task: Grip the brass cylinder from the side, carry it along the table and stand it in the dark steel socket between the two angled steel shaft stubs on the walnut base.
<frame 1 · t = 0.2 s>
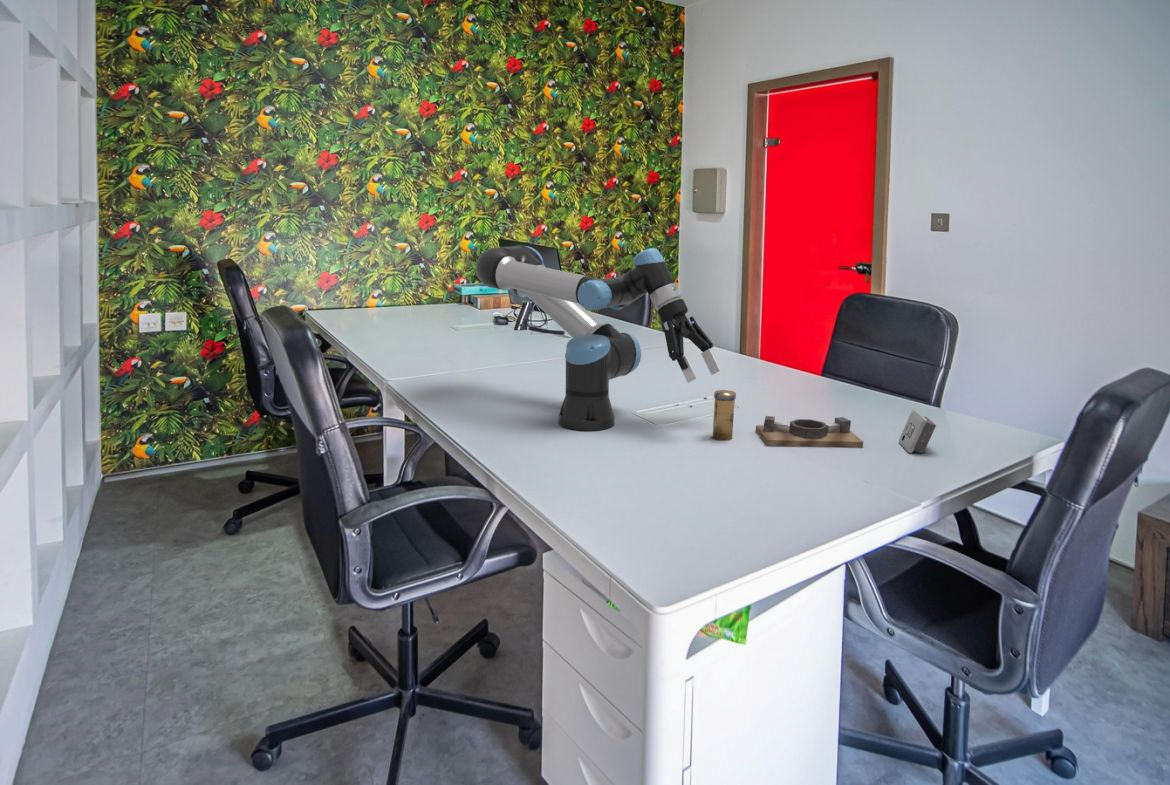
hand: (704, 376, 201), 15 cm above the table, tool tilted 35°, fingers open, 13 cm apart
brass cylinder: (722, 437, 200), on the table
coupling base: (807, 438, 200), on the table
electrical switch: (913, 449, 193), on the table
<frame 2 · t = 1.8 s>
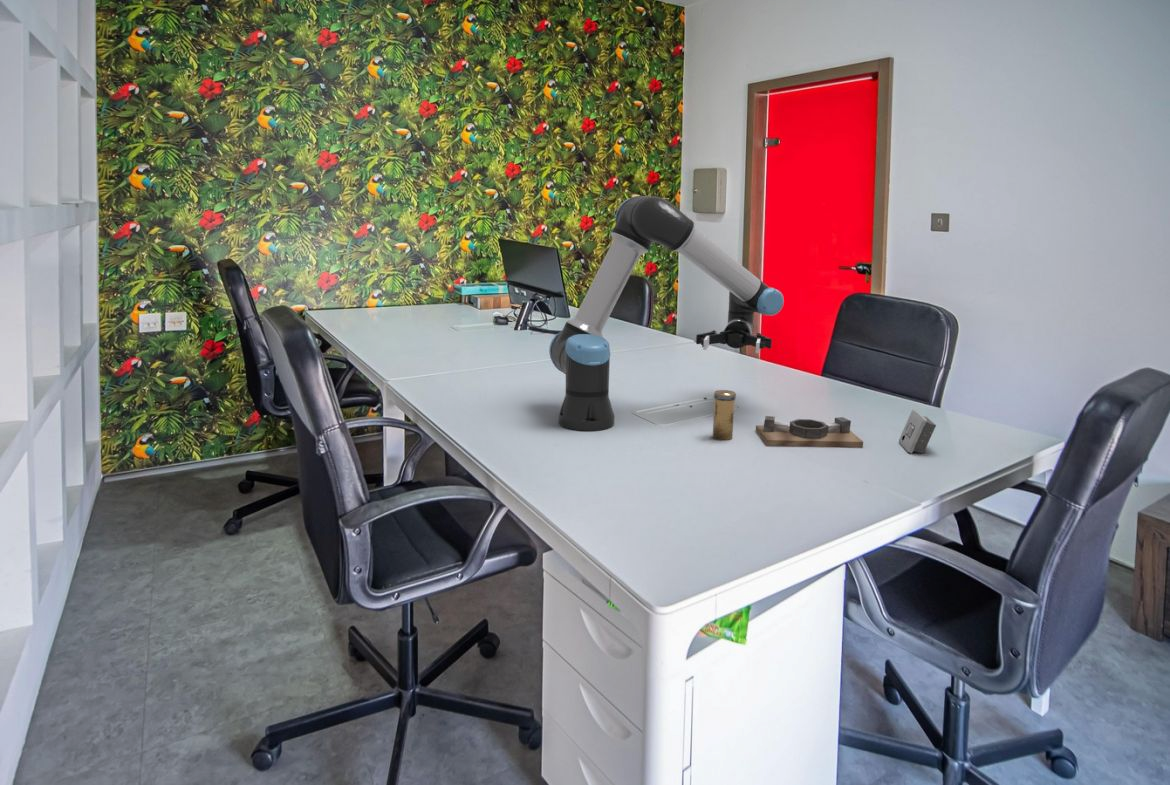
hand: (730, 346, 203), 22 cm above the table, tool horizontal, fingers open, 13 cm apart
nothing on the table moved.
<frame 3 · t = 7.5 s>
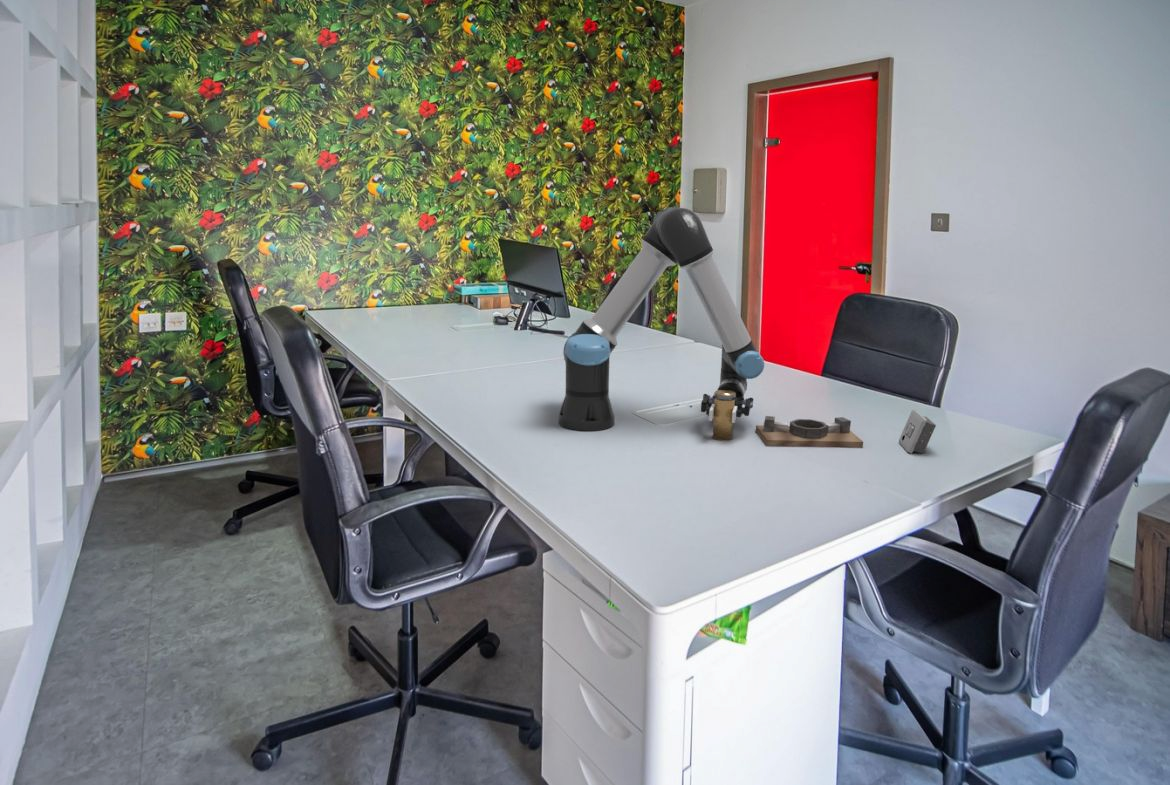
hand: (722, 416, 193), 7 cm above the table, tool horizontal, fingers closed on brass cylinder, 5 cm apart
brass cylinder: (722, 437, 200), on the table, touching gripper
everything else where it was.
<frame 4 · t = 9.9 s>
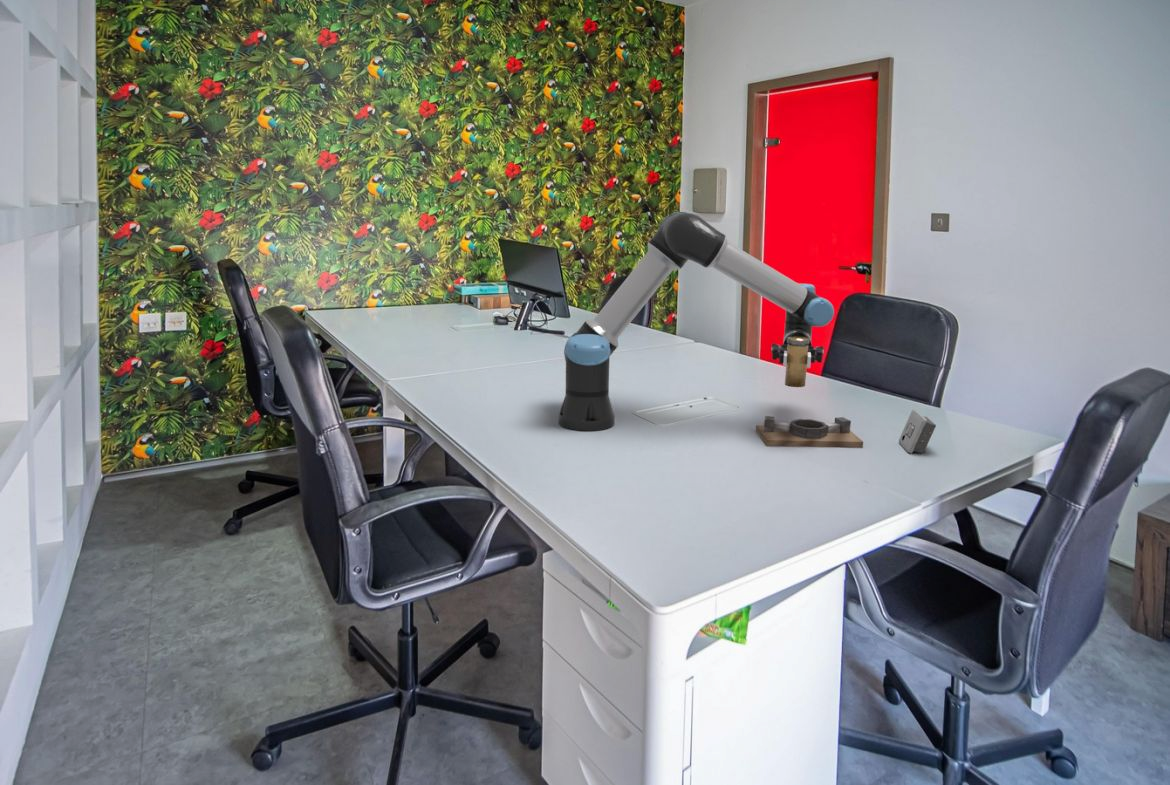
hand: (797, 361, 190), 21 cm above the table, tool horizontal, fingers closed on brass cylinder, 5 cm apart
brass cylinder: (794, 384, 196), point 14 cm above the table, touching gripper
everything else where it was.
when the fingers open (10 cm above the table, at t = 12.5 s): brass cylinder drops 1 cm, resting on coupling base.
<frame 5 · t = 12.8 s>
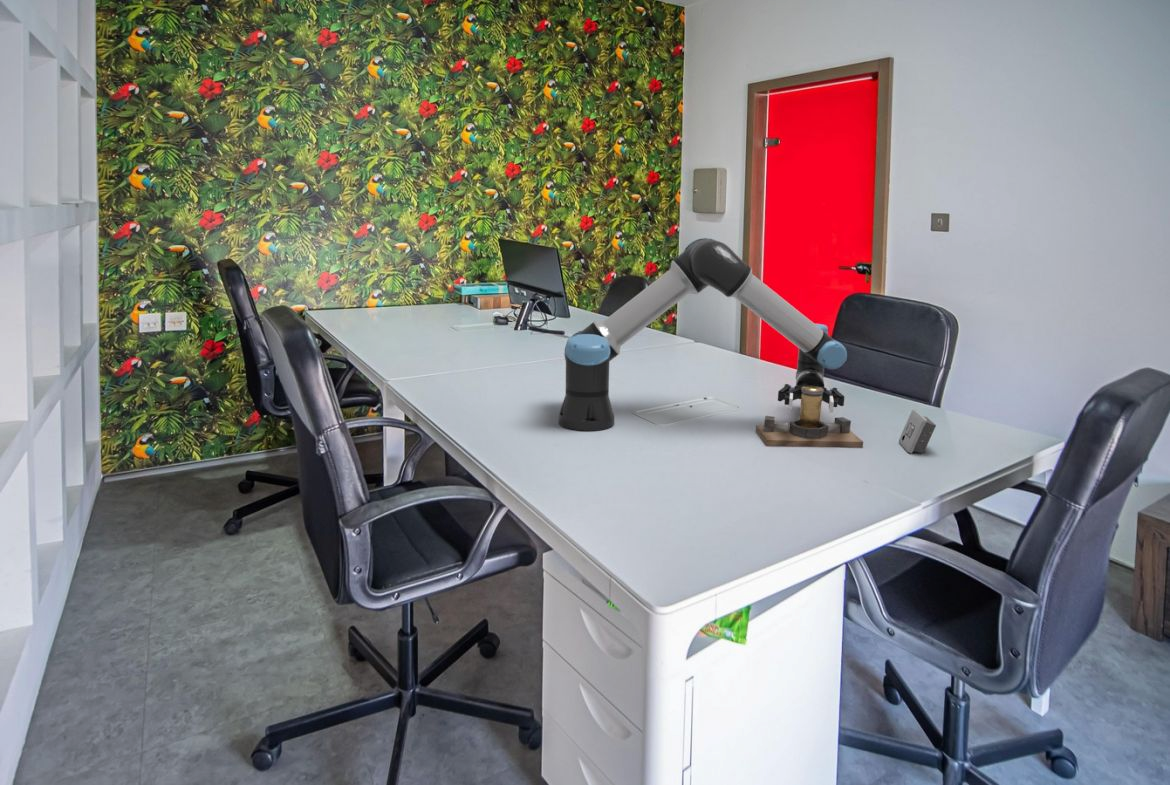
hand: (811, 405, 193), 10 cm above the table, tool horizontal, fingers open, 9 cm apart
brass cylinder: (808, 433, 199), point 2 cm above the table, touching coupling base
everything else where it was.
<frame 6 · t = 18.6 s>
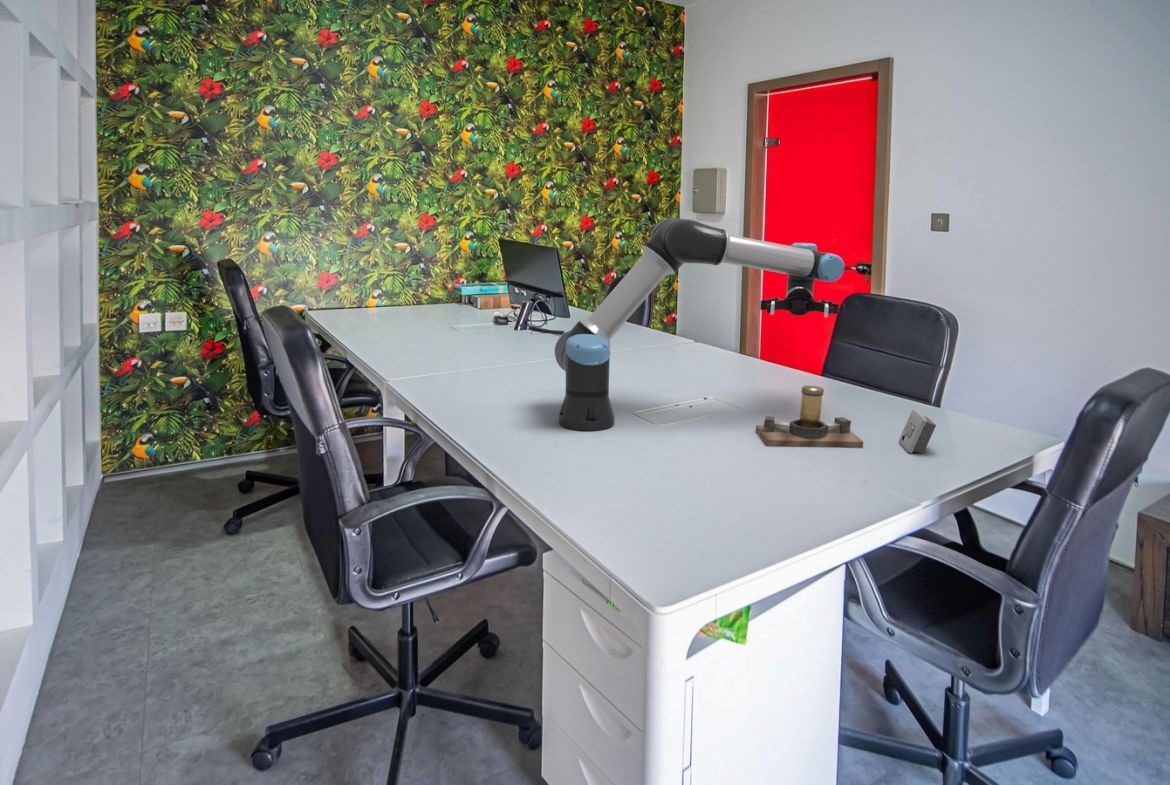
hand: (799, 310, 200), 32 cm above the table, tool horizontal, fingers open, 13 cm apart
nothing on the table moved.
at the end: brass cylinder 0.1 cm off-centre on the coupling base, point 1.5 cm above the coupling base's base; brass cylinder tilted 1°; the gripper is holding nothing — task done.
